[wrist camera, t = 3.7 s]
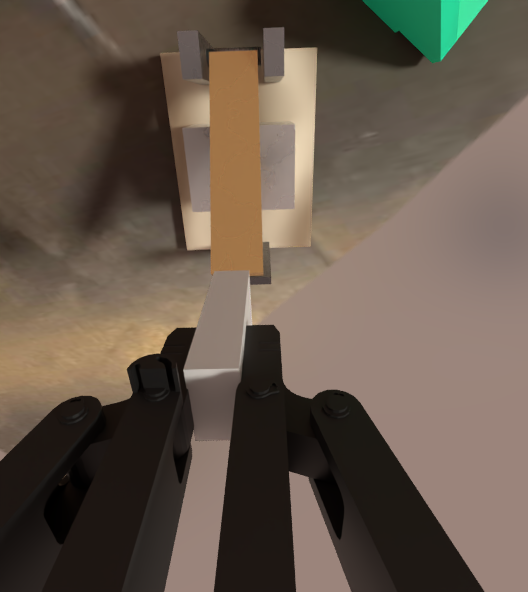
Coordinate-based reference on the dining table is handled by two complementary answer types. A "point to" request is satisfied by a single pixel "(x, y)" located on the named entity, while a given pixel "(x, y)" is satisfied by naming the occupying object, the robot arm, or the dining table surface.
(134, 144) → the dining table surface
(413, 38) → the camera mount
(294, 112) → the board
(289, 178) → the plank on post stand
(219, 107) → the tan wooden flat bar
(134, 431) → the robot arm
